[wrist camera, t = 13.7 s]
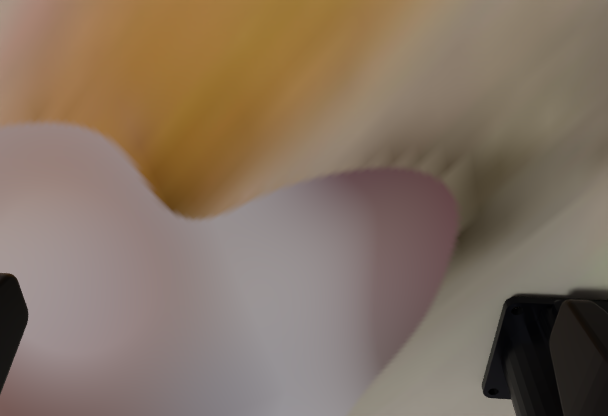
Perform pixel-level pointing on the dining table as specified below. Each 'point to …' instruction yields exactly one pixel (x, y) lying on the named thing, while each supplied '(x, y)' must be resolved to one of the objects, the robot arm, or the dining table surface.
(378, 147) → the dining table surface
